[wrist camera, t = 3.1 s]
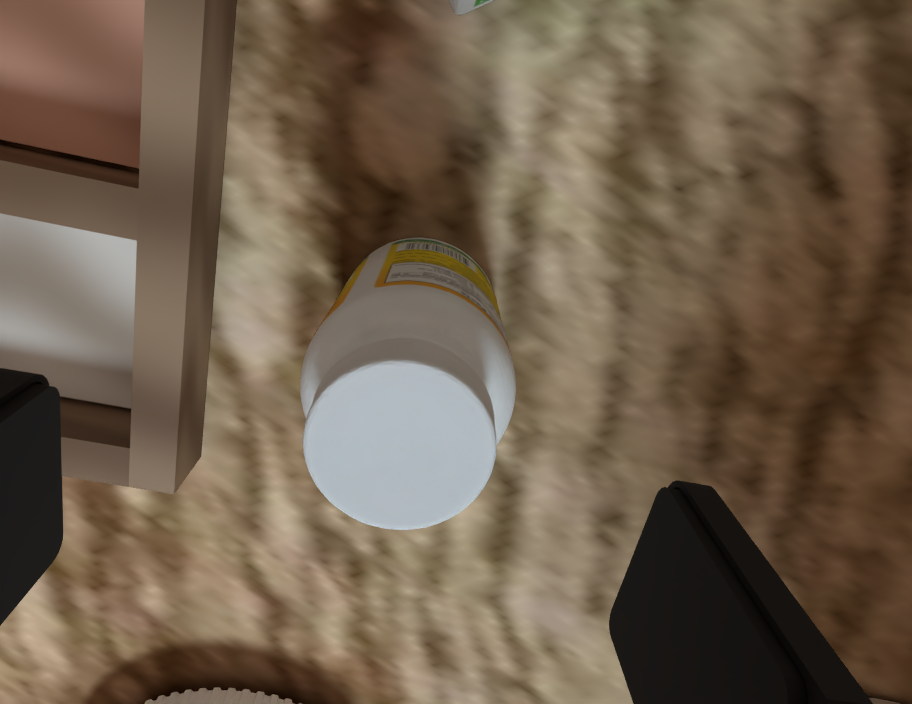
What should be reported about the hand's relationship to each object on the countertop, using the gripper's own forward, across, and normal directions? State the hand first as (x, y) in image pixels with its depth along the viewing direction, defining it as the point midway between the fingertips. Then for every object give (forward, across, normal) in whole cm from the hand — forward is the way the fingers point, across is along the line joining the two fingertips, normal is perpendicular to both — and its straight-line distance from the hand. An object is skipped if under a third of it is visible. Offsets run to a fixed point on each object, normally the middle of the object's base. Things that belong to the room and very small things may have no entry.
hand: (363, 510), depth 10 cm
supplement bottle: (+13, -1, +1) cm, 13 cm away
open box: (+13, +11, -1) cm, 17 cm away
